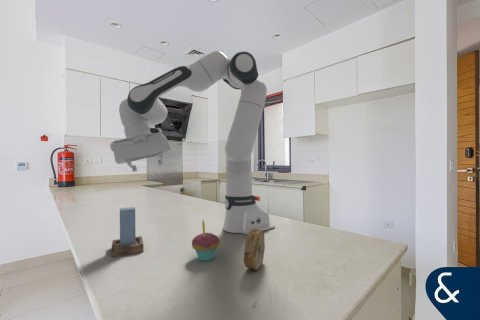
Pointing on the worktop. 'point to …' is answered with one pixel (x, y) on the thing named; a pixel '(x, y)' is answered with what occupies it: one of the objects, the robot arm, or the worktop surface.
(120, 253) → the walnut base
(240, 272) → the worktop surface
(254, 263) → the bagel
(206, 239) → the cupcake
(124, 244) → the slate block
